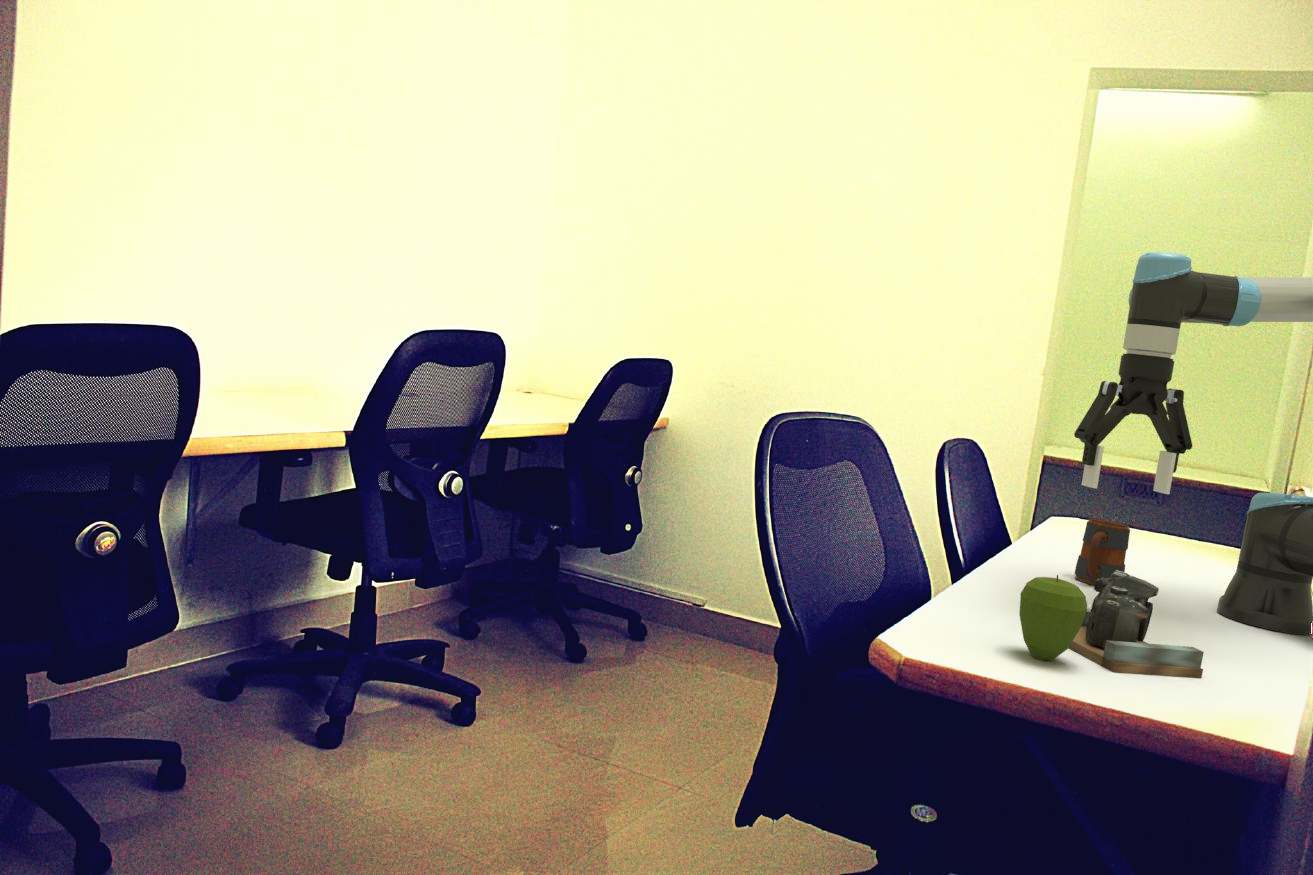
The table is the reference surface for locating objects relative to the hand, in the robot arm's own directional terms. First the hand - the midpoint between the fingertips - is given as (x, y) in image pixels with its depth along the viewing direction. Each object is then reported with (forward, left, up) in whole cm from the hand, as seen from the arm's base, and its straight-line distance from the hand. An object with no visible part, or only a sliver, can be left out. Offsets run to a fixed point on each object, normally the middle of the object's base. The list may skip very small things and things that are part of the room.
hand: (1125, 489), depth 166 cm
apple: (+24, +21, -22) cm, 39 cm away
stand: (+9, +15, -22) cm, 28 cm away
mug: (-21, -29, -22) cm, 42 cm away
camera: (+9, +15, -21) cm, 27 cm away
